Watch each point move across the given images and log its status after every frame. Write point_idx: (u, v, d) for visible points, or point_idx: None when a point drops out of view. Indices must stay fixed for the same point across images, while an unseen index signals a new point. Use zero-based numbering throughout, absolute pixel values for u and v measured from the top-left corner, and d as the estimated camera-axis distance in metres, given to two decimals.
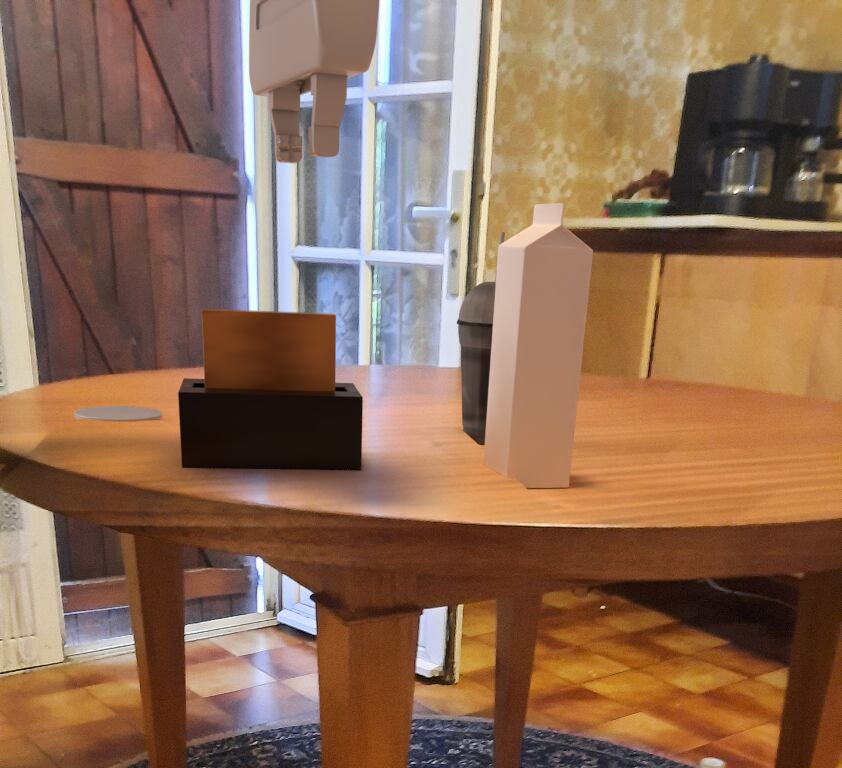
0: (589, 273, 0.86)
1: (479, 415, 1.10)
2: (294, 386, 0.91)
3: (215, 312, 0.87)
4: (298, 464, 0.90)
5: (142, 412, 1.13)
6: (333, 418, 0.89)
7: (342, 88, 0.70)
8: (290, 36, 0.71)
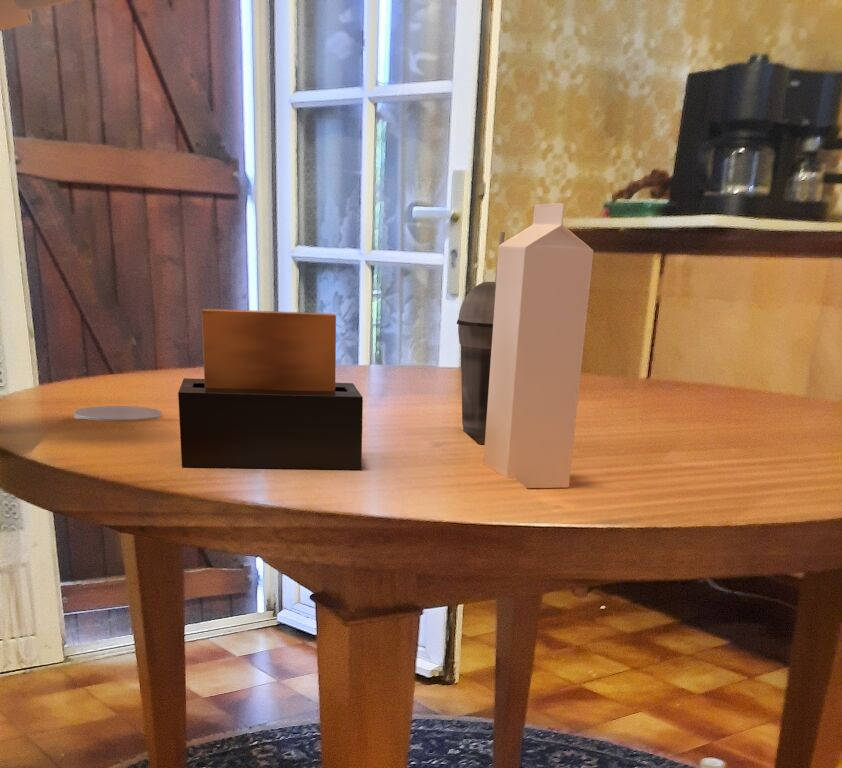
0: (589, 273, 0.86)
1: (479, 415, 1.10)
2: (294, 386, 0.91)
3: (215, 312, 0.87)
4: (298, 464, 0.90)
5: (142, 412, 1.13)
6: (333, 418, 0.89)
7: None
8: None
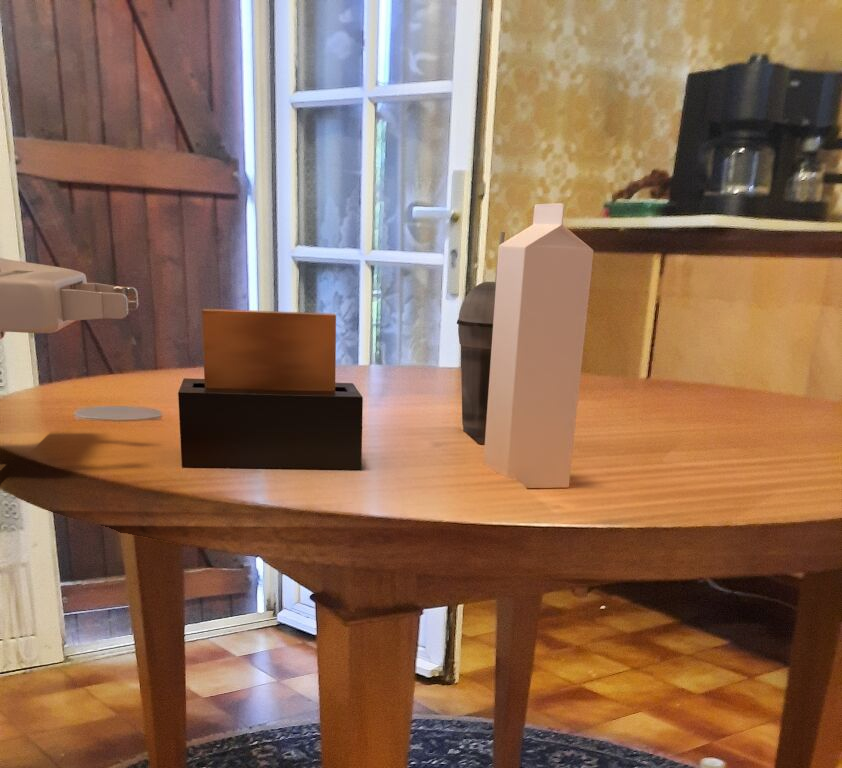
0: (589, 273, 0.86)
1: (479, 415, 1.10)
2: (294, 386, 0.91)
3: (215, 312, 0.87)
4: (298, 464, 0.90)
5: (142, 412, 1.13)
6: (333, 418, 0.89)
7: None
8: None
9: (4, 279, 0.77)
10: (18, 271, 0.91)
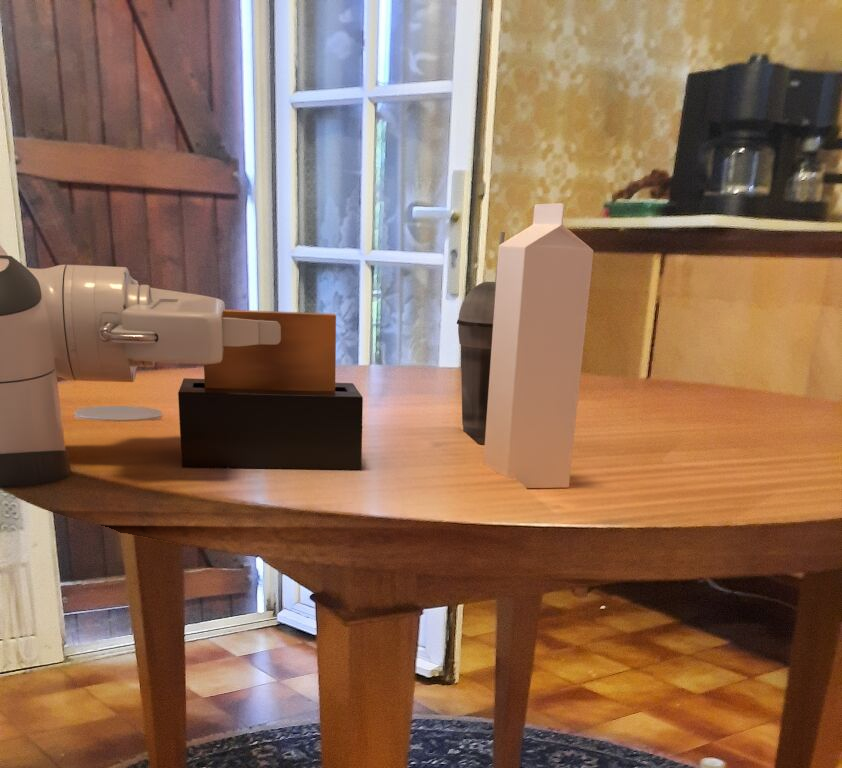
0: (589, 273, 0.86)
1: (479, 415, 1.10)
2: (294, 386, 0.91)
3: None
4: (298, 464, 0.90)
5: (142, 412, 1.13)
6: (333, 418, 0.89)
7: None
8: (195, 302, 0.90)
9: (174, 313, 0.79)
10: (163, 300, 0.93)
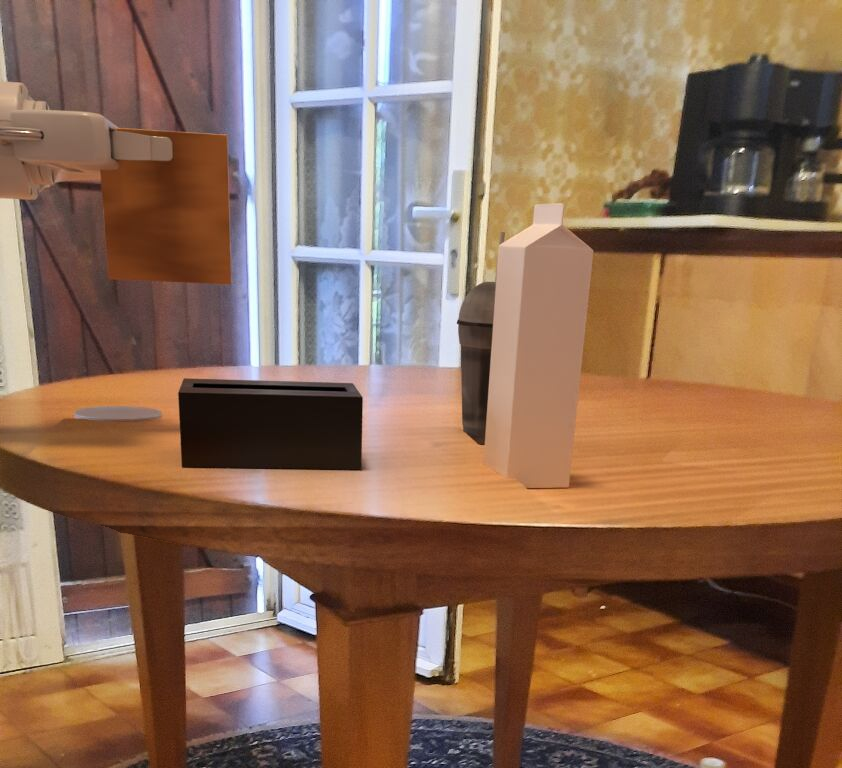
0: (589, 273, 0.86)
1: (479, 415, 1.10)
2: (189, 206, 0.95)
3: None
4: (298, 464, 0.90)
5: (142, 412, 1.13)
6: (333, 418, 0.89)
7: None
8: None
9: (58, 111, 0.83)
10: None
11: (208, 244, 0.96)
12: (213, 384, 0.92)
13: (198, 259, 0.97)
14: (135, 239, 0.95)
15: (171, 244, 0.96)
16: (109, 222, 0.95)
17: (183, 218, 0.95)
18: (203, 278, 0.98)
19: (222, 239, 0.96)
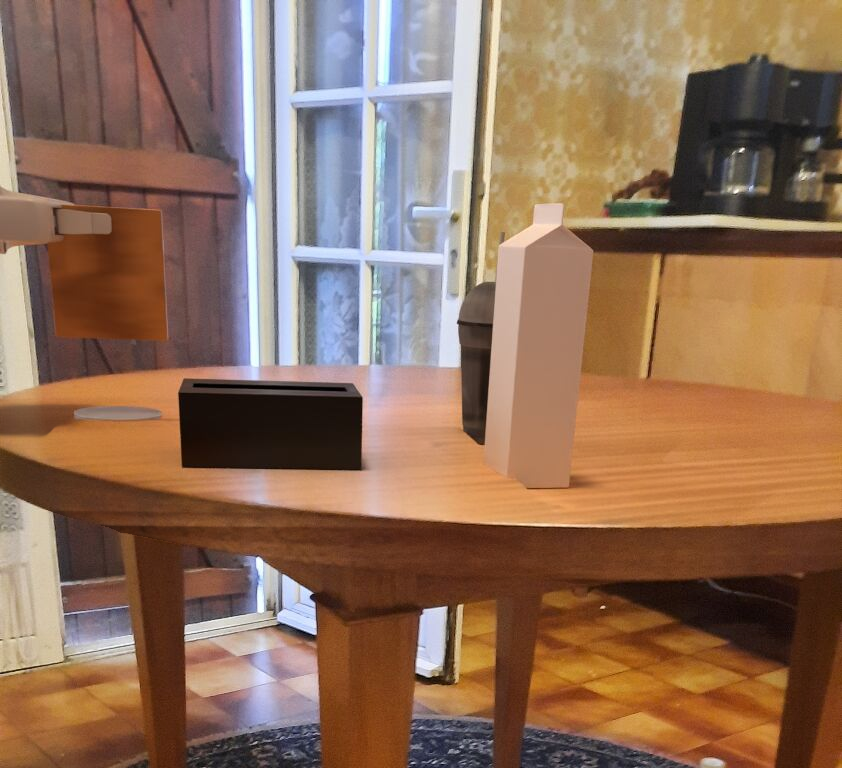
0: (589, 273, 0.86)
1: (479, 415, 1.10)
2: (128, 273, 1.06)
3: None
4: (298, 464, 0.90)
5: (142, 412, 1.13)
6: (333, 418, 0.89)
7: None
8: None
9: (6, 197, 0.94)
10: None
11: (145, 306, 1.07)
12: (213, 384, 0.92)
13: (137, 319, 1.08)
14: (80, 301, 1.06)
15: (112, 306, 1.07)
16: (56, 287, 1.06)
17: (123, 283, 1.06)
18: (142, 335, 1.09)
19: (158, 301, 1.07)
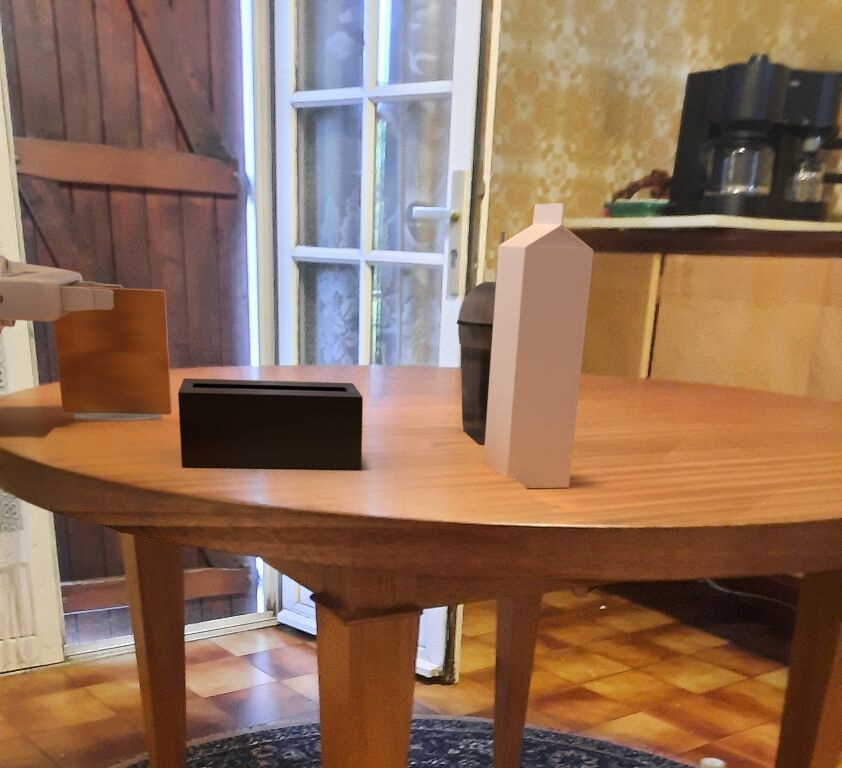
0: (589, 273, 0.86)
1: (479, 415, 1.10)
2: (132, 350, 1.09)
3: None
4: (298, 464, 0.90)
5: None
6: (333, 418, 0.89)
7: None
8: (49, 273, 1.08)
9: (15, 278, 0.97)
10: (26, 272, 1.11)
11: (149, 381, 1.11)
12: (213, 384, 0.92)
13: (141, 394, 1.11)
14: (85, 378, 1.10)
15: (117, 382, 1.10)
16: (62, 364, 1.09)
17: (127, 360, 1.09)
18: (146, 409, 1.12)
19: (161, 377, 1.11)
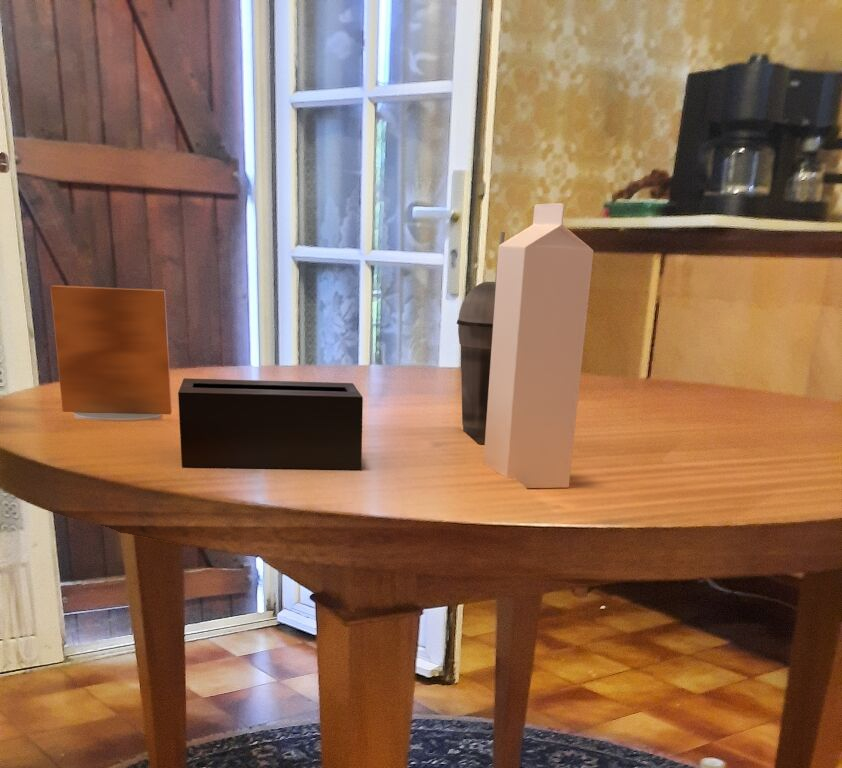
0: (589, 273, 0.86)
1: (479, 415, 1.10)
2: (132, 350, 1.09)
3: (62, 288, 1.06)
4: (298, 464, 0.90)
5: None
6: (333, 418, 0.89)
7: None
8: None
9: None
10: None
11: (149, 381, 1.11)
12: (213, 384, 0.92)
13: (141, 394, 1.11)
14: (85, 378, 1.10)
15: (117, 382, 1.10)
16: (62, 364, 1.09)
17: (127, 360, 1.09)
18: (146, 409, 1.12)
19: (161, 377, 1.11)
